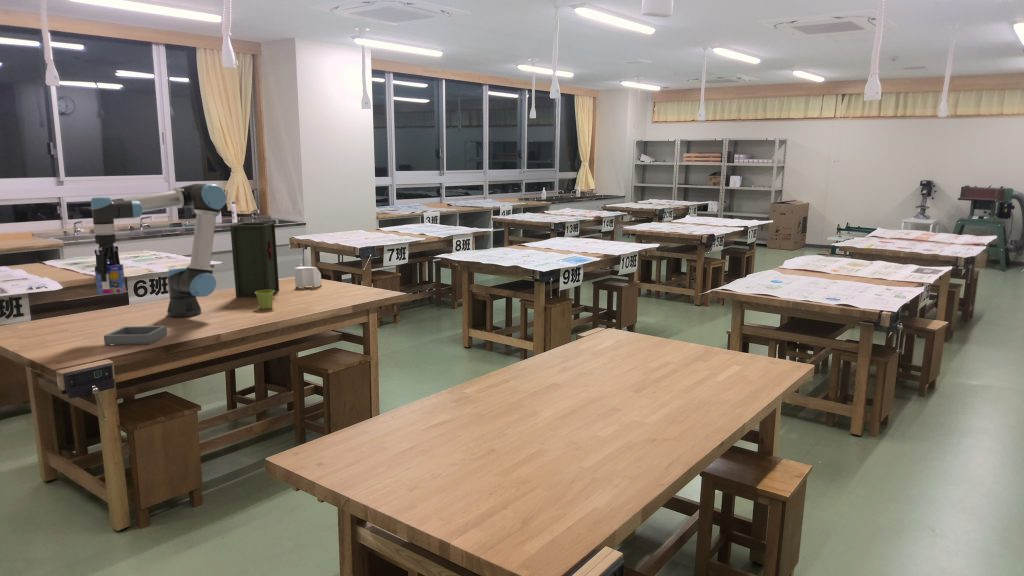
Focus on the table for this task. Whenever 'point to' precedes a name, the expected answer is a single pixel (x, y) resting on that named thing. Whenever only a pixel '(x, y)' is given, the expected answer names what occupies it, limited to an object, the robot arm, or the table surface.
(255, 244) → the first aid box
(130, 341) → the tray
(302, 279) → the white rounded block
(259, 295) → the plant pot
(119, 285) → the ink cartridge box
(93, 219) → the robot arm
